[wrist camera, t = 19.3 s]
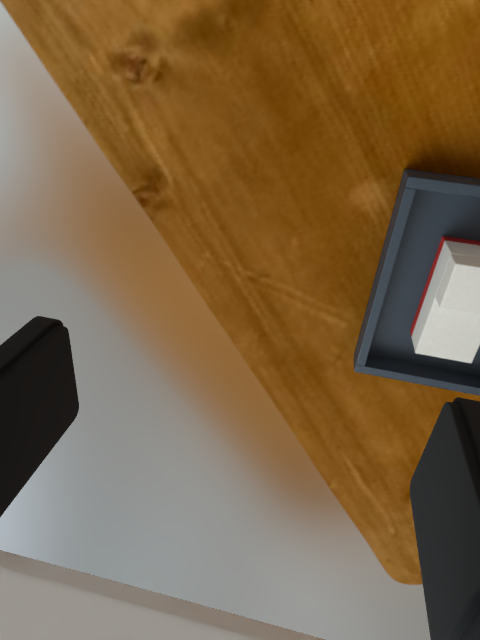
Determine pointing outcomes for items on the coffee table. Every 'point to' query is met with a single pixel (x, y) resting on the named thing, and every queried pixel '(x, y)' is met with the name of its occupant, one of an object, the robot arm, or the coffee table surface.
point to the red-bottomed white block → (450, 303)
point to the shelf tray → (417, 280)
